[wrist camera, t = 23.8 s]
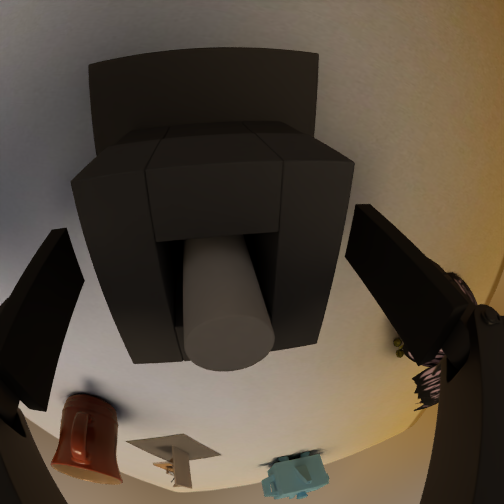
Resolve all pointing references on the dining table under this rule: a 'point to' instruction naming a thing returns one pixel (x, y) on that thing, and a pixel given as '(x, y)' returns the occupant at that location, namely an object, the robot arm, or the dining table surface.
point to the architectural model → (175, 455)
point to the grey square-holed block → (213, 228)
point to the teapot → (295, 477)
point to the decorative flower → (431, 362)
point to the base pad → (205, 111)
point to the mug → (88, 440)
